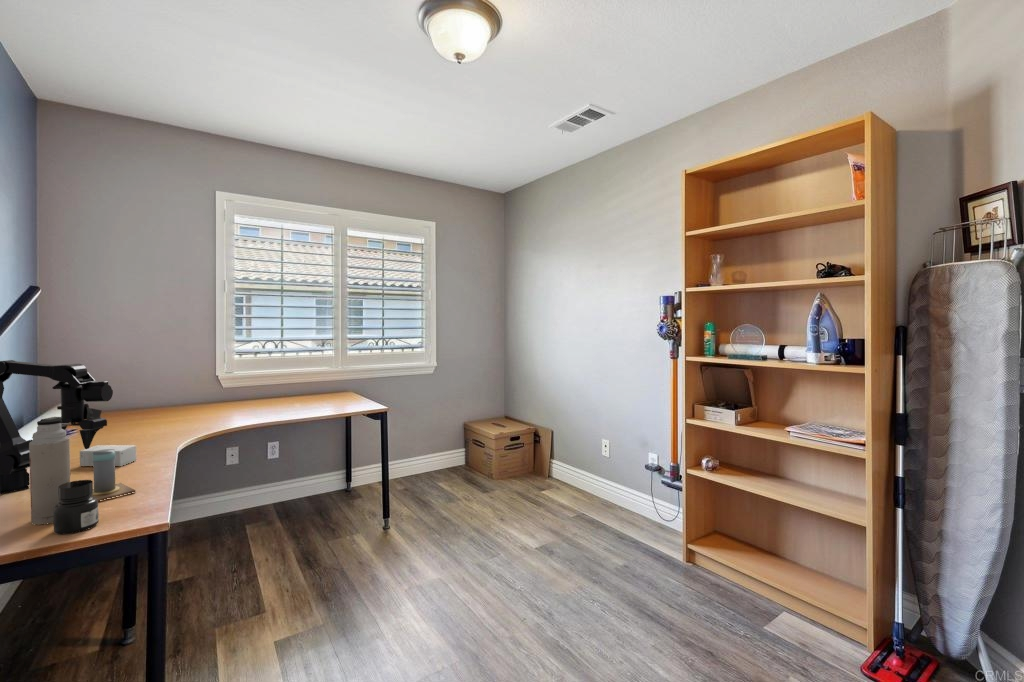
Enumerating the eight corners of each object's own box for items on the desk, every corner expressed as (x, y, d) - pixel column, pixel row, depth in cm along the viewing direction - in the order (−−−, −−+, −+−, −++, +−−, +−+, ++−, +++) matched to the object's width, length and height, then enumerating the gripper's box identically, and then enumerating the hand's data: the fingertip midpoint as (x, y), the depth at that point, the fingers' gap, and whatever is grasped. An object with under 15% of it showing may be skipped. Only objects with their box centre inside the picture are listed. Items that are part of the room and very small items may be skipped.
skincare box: (79, 466, 178) (119, 468, 178) (78, 449, 178) (119, 450, 177) (98, 460, 186) (137, 461, 186) (98, 443, 186) (137, 444, 186)
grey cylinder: (92, 494, 146) (91, 454, 146) (94, 489, 150) (94, 450, 150) (114, 490, 149) (114, 451, 149) (116, 485, 154) (116, 448, 153)
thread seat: (87, 504, 142) (86, 499, 141) (73, 496, 148) (73, 491, 148) (135, 493, 152) (135, 488, 152) (120, 485, 158) (120, 481, 158)
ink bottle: (94, 531, 124) (93, 486, 124) (49, 538, 119) (47, 492, 119) (101, 518, 132) (101, 476, 132) (59, 525, 128) (58, 481, 127)
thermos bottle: (24, 527, 126) (22, 423, 125) (40, 515, 133) (38, 418, 132) (63, 522, 129) (60, 421, 128) (76, 511, 136) (74, 416, 135)
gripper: (121, 398, 163) (121, 443, 164) (70, 397, 164) (71, 441, 164) (90, 404, 152) (91, 451, 152) (36, 403, 153) (37, 450, 153)
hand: (73, 448), depth 156 cm, fingers open, 9 cm apart
